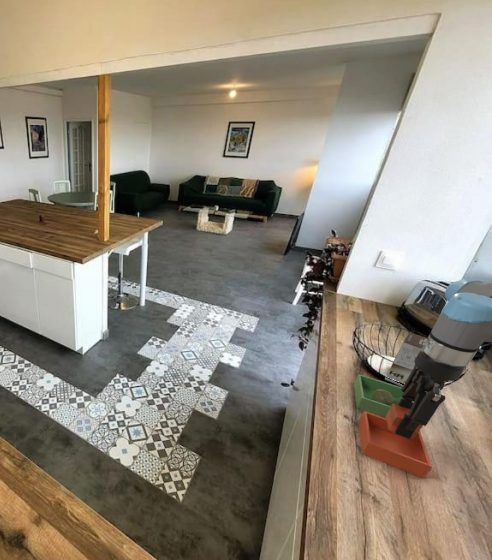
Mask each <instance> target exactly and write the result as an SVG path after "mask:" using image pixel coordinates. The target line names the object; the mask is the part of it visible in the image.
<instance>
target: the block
mask: <svg viewBox="0 0 492 560" xmlns="http://www.w3.org/2000/svg"><path fill="white" fill-rule="evenodd" d="M409 412H410V409H408V408H405V407H402V406H399V405H396V404H393V405H392V406H391V408H390V410H389V411H388V413H387V415H386V421H387V425H388V430H390V431H393V432H395V431H396V429H397V428H398V426H399V424H400V423H401V421H402V419H403V418H404V413H405V414H409ZM422 428H423V425H420V424H419V425H418V426H417V428H416V430H415V431H414V433H413V434H412V436H411V437H410V438H412V439H414V438H415V436H416V435H417V434H418V432H419V431H420V432H421V430H422Z"/></svg>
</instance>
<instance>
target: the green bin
mask: <svg viewBox="0 0 492 560" xmlns="http://www.w3.org/2000/svg"><path fill="white" fill-rule="evenodd" d="M353 389H354V390H353V391H354V398H355V405H356V409H357V410H360V411H362V412H364V411H366V412H369V413H371V414H374V415H377V416H380V417H383V418H386V415H387V413H388V411H389V410H390V408H391V406H392V405H393V404H396V405H398V404H399V402H400V400H401V399H403V398H402V394H403V393H404V392H402V391H401V389H402V387H401V386H399V385H396V384H392V383H389V382H386V381H382V380H379V379H376V378H372V377H369V376H366V375H363V374H359V373H358V374H357V376H356V378H355V380H354V383H353ZM378 389H382V390H386V391H388V392H389V393H390V394H391V395H392V397H393V399H394V400H393V404H392V405H390V406H388V405H385V404H382V403H379V402H376V401H373V399H372V393H373V392H374V391H375V390H378Z"/></svg>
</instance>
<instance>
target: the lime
mask: <svg viewBox="0 0 492 560" xmlns="http://www.w3.org/2000/svg"><path fill="white" fill-rule="evenodd" d="M372 399H373V401H376V402H379V403H382V404H385V405H388V406H390V405H392V404H393V400H394V399H393V397H392V395H391V394H390V393H389V392H388V391H386V390H382V389H378V390H375V391H374V392H373V393H372Z"/></svg>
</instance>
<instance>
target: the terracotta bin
mask: <svg viewBox="0 0 492 560" xmlns="http://www.w3.org/2000/svg"><path fill="white" fill-rule="evenodd" d="M358 427H359V429H358V430H359V436H360V437H359V438H360V443H361V444H360V445H361V452H362V455H364V456H367V457H369V458H372V459H375V460H377V461H380V462H382V463H384V464H387V465H389V466H391V467H394V468H397V469H399V470H402V471H403V472H407V473H409V474H411V475H414V476H416V477H419V478H420V479H425V477H426V476H427V475H428V474H429V472H430V471H431V469H432V468H433V466H432V462H431V460H430V457H429V455H428V451H427V448H426V444H425V442H424V439H423V436H422V433H421V430H420V431H419V432H418V434H417V435H416V436H415V438H414V439H412V438H410V439H409V438H406V437H403V436H400V435H398V434H396V433H395V432H393V431H390V430H388V425H387V421H386V418H383V417H380V416H377V415H375V414H372V413H369V412H366V411H362V414H361V416H360V418H359V420H358Z"/></svg>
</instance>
